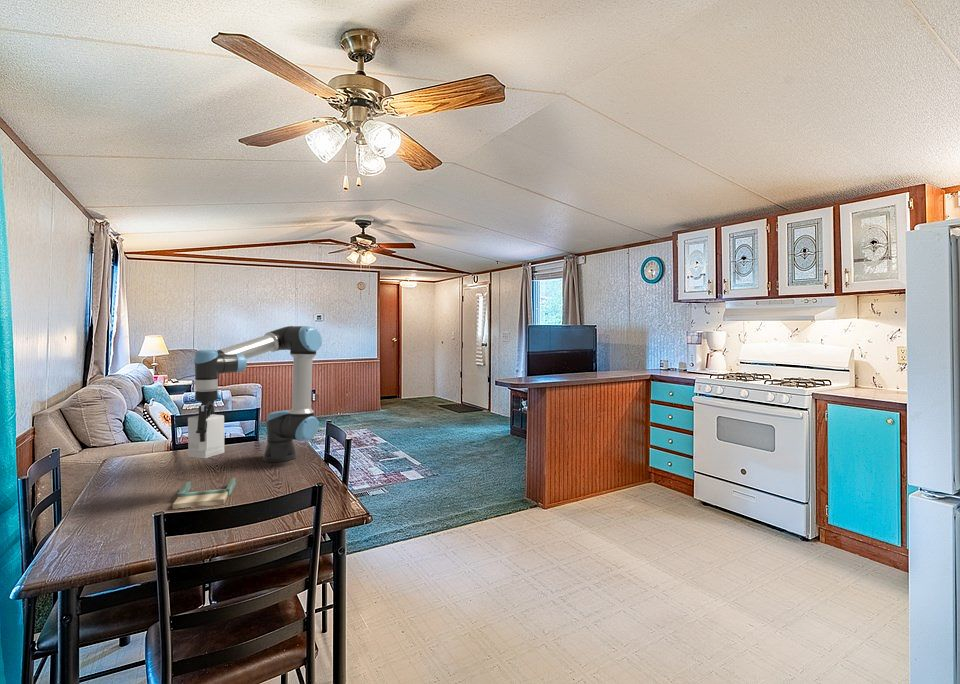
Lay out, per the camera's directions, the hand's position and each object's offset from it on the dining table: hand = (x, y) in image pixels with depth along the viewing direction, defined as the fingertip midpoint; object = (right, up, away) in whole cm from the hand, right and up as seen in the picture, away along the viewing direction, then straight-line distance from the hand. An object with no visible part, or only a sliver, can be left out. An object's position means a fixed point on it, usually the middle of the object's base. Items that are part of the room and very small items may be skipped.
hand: (206, 445), depth 181 cm
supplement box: (0, -4, 0) cm, 4 cm away
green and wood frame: (+1, -19, -3) cm, 19 cm away
